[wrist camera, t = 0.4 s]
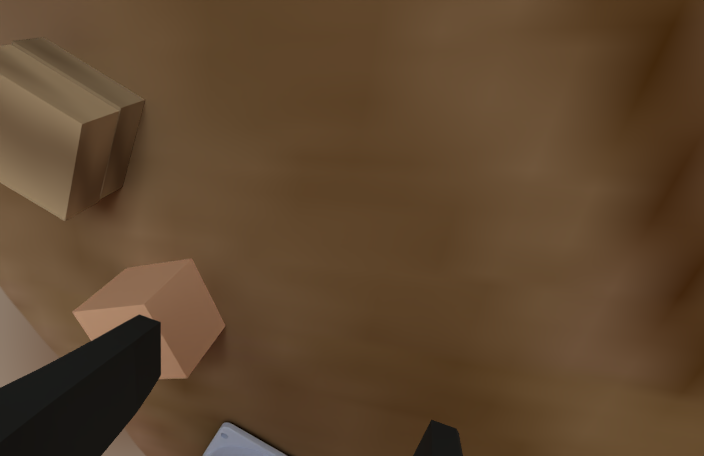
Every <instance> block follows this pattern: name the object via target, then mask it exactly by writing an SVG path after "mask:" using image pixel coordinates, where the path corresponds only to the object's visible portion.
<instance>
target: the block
mask: <svg viewBox="0 0 704 456" xmlns="http://www.w3.org/2000/svg"><path fill="white" fill-rule="evenodd" d="M73 314H74V315H75V317H76V318H77V320H78V321H79V323H80V324H81V326H82V327H83V329H84V330H85V332H86V333H87V335H88V336H89V338H90V339H91V341H92V340H94V339H96V338H97V337H99V336H101V335H103V334H105V333H106V332H108V331H110V330H112V329H114V328H115V327H117V326H119V325H121V324H122V323H124V322H126V321H128V320H130V319H132V318H133V317H135V316H137V315H139V314H140V315H142V316H145V317H148V318H151V319H154V320H156V321H159V322H161V376H160V378H159V379H181V378H188V377H189V375H190V374H191V372H192V371H193V370H194V368H195V367H196V366H197V364H198V363H199V362H200V360H201V359H202V357H203V356H204V355H205V353H206V352H207V351H208V349H209V348H210V347H211V345H212V344H213V342H214V341H215V340H216V338H217V337H218V336H219V334H220V333H221V332H222V330H223V329H224V327H225V324H224V322H223V320H222V318H221V316H220V314H219V312H218V310H217V308H216V306H215V304H214V302H213V300H212V298H211V296H210V294H209V292H208V290H207V288H206V286H205V284H204V282H203V280H202V278H201V276H200V274H199V272H198V270H197V268H196V266H195V264H194V262H193V260H192V259H185V260H178V261H171V262H164V263H157V264H150V265H144V266H137V267H130V268H126V269H125V270H123V271H122V272H121V273H120V274H119V275H117V276H116V277H115V278H114V279H112V280H111V281H110V282H109V283H107V284H106V285H105V286H104V287H102V288H101V289H100V290H99V291H98V292H96V293H95V294H94V295H93V296H91V297H90V298H89V299H88V300H86V301H85V302H84V303H83V304H81V305H80V306H79V307H78V308H77V309H75V310H74V311H73Z"/></svg>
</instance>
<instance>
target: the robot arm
mask: <svg viewBox="0 0 704 456" xmlns="http://www.w3.org/2000/svg"><path fill="white" fill-rule="evenodd" d="M160 376H161V322H159V321H156V320H154V319H151V318H148V317H145V316H142V315H140V314H139V315H137V316H135V317H133V318H132V319H130V320H128V321H126V322H124V323H122V324H121V325H119V326H117V327H115V328H114V329H112V330H110V331H108V332H106V333H105V334H103V335H101V336H99V337H97V338H96V339H94V340H92V341H90V342H88V343H87V344H85V345H83V346H81V347H79V348H78V349H76V350H74V351H72V352H70V353H68V354H66V355H64V356H63V357H61V358H59V359H57V360H55V361H53V362H51V363H50V364H48V365H46V366H44V367H42V368H40V369H38V370H36V371H34V372H32V373H30V374H28V375H26V376H24V377H22V378H19V379H17V380H15V381H13V382H11V383H9V384H7V385H5V386H3V387H1V388H0V456H101V455H102V454H103V453H104V451H105V450H106V449H107V448H108V447H109V445H110V444H111V443H112V442H113V441H114V439H115V438H116V437H117V436H118V435H119V433H120V432H121V431H122V430H123V429H124V427H125V426H126V425H127V424H128V422H129V421H130V420H131V419H132V417H133V416H134V415H135V414H136V412H137V411H138V410H139V408H140V407H141V405H142V404H143V402H144V401H145V399H146V398H147V396H148V395H149V393H150V392H151V390H152V389H153V387H154V385H155V384H156V382H157V381H158V379H159V378H160ZM202 456H287V455H285V454H284V453H282V452H280V451H278V450H277V449H275V448H273V447H271V446H270V445H268V444H266V443H264V442H263V441H261V440H259V439H257V438H256V437H254V436H252V435H250V434H249V433H247V432H245V431H243V430H242V429H240V428H238V427H236V426H235V425H233V424H231V423H228V422H226V423H223V424H222V426H221V427H220V429H219V430H218V432H217V433H216V435H215V437H214V438H213V440H212V441H211V443H210V444H209V446H208V448H207V449H206V451H205V452H204V454H203V455H202ZM413 456H463V454H462V449H461V443H460V438H459V433H458V431H457V429H456V428H453V427H450V426H447V425H445V424H442V423H439V422H436V421H434V420H431V422H430V424H429V426H428V428H427V430H426V432H425V434H424V436H423V438H422V440H421V441H420V443H419V445H418V447H417V449H416V451H415V453H414V455H413Z"/></svg>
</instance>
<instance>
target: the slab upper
mask: <svg viewBox="0 0 704 456" xmlns="http://www.w3.org/2000/svg"><path fill="white" fill-rule="evenodd" d="M118 115H119V111H118V110H117V109H115V108H114V107H112V106H110V105H109V104H107V103H105V102H104V101H102V100H101V99H99V98H97V97H96V96H94V95H92V94H91V93H89V92H88V91H86V90H84V89H83V88H81V87H79V86H78V85H76V84H74V83H73V82H71V81H70V80H68V79H66V78H65V77H63V76H61V75H60V74H58V73H57V72H55V71H53V70H52V69H50V68H48V67H47V66H45V65H44V64H42V63H40V62H39V61H37V60H35V59H34V58H32V57H31V56H29V55H27V54H26V53H24V52H22V51H21V50H19V49H17V48H16V47H14V46H13V45H3V46H0V183H2V184H4V185H5V186H7V187H9V188H10V189H12V190H14V191H15V192H17V193H19V194H20V195H22V196H24V197H25V198H27V199H29V200H30V201H32V202H34V203H35V204H37V205H39V206H40V207H42V208H44V209H45V210H47V211H49V212H50V213H52V214H54V215H55V216H57V217H59V218H61V219H62V220H64V221H66V220H68V219H70V218H71V217H73V216H75V215H77V214H78V213H80V212H82V211H84V210H85V209H87V208H89V207H91V206H92V205H94V204H96V203H98V202H99V199H100V194H101V190H102V185H103V181H104V177H105V172H106V168H107V164H108V159H109V155H110V150H111V146H112V141H113V137H114V132H115V128H116V123H117V119H118Z"/></svg>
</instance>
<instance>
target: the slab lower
mask: <svg viewBox="0 0 704 456" xmlns="http://www.w3.org/2000/svg"><path fill="white" fill-rule="evenodd" d="M12 45H13V46H14V47H16V48H17V49H19V50H21V51H22V52H24V53H26V54H27V55H29V56H31V57H32V58H34V59H35V60H37V61H39V62H40V63H42V64H44V65H45V66H47V67H48V68H50V69H52V70H53V71H55V72H57V73H58V74H60V75H61V76H63V77H65V78H66V79H68V80H70V81H71V82H73V83H74V84H76V85H78V86H79V87H81V88H83V89H84V90H86V91H88V92H89V93H91V94H92V95H94V96H96V97H97V98H99V99H101V100H102V101H104V102H105V103H107V104H109V105H110V106H112V107H114V108H115V109H117V110H118V111H119V115H118V119H117V123H116V128H115V132H114V137H113V141H112V146H111V150H110V155H109V159H108V164H107V168H106V172H105V177H104V181H103V185H102V190H101V194H100V199H102V198H104V197H105V196H107V195H109V194H111V193H112V192H114V191H116V190H118V189H120V188H121V187H123V183H124V179H125V176H126V172H127V168H128V164H129V160H130V156H131V152H132V148H133V145H134V141H135V137H136V133H137V129H138V125H139V121H140V118H141V114H142V110H143V106H144V102H145V99H143V98H141V97H140V96H138V95H137V94H135V93H133V92H132V91H130V90H128V89H127V88H125V87H124V86H122V85H120V84H119V83H117V82H115V81H114V80H112V79H111V78H109V77H107V76H106V75H104V74H102V73H101V72H99V71H98V70H96V69H94V68H93V67H91V66H89V65H88V64H86V63H85V62H83V61H81V60H80V59H78V58H76V57H75V56H73V55H72V54H70V53H68V52H67V51H65V50H64V49H62V48H60V47H59V46H57V45H55V44H54V43H52V42H51V41H49V40H47V39H46V38H44V37H43V38H35V39H26V40H17V41H12Z"/></svg>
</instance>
